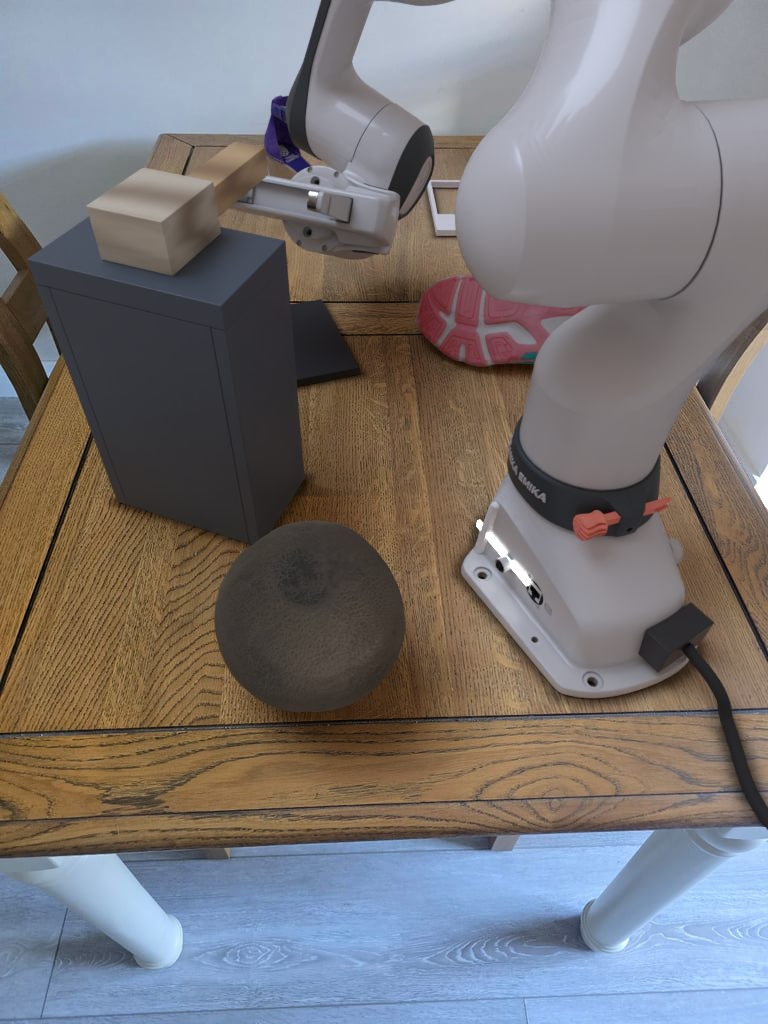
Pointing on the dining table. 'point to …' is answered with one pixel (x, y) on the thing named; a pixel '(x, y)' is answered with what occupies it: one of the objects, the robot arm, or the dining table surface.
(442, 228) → the photo frame
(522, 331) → the athletic shoe
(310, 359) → the shoe mat
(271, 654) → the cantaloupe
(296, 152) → the sandal
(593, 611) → the robot arm
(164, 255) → the wooden mallet
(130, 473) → the tall grey cabinet
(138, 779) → the dining table surface
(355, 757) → the dining table surface
